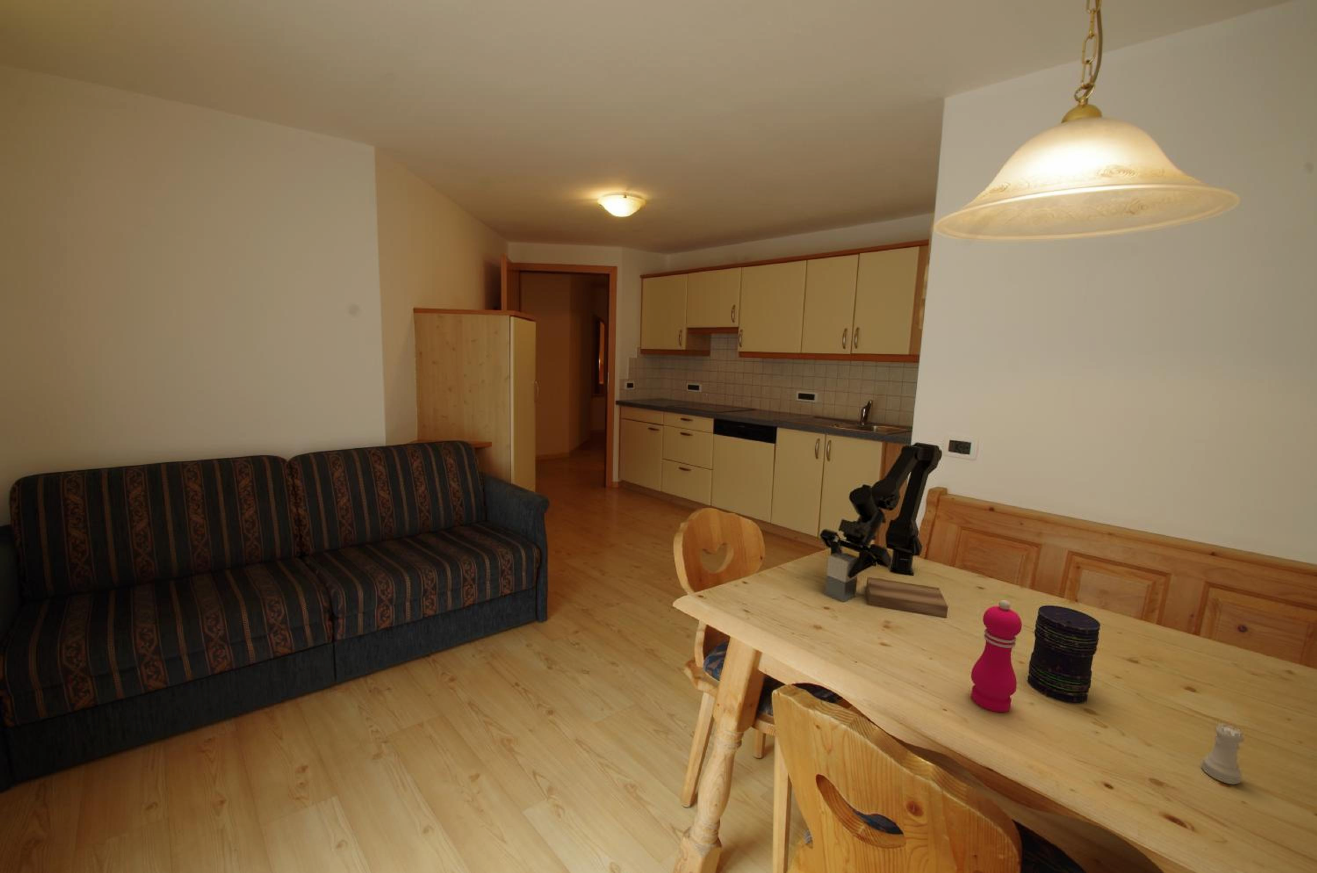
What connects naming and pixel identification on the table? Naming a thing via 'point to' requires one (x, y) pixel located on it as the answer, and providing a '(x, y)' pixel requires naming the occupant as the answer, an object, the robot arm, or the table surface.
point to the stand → (906, 597)
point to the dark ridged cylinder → (1063, 653)
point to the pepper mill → (996, 659)
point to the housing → (841, 577)
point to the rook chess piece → (1224, 755)
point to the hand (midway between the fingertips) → (839, 573)
